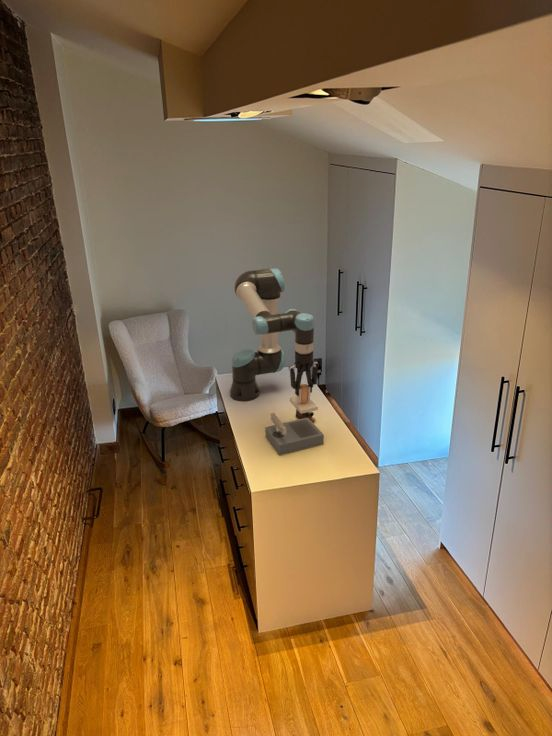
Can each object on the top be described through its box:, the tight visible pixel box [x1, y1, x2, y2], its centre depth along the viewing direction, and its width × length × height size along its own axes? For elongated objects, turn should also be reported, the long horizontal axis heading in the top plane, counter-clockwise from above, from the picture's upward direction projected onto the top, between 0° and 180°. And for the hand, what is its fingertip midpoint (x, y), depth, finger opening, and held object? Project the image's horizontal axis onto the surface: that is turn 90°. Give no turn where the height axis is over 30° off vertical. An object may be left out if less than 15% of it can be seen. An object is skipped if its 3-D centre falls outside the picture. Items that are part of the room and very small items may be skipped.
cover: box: [288, 383, 319, 414], centre depth 234 cm, size 12×8×10 cm, turn 23°
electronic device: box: [295, 408, 316, 423], centre depth 257 cm, size 4×10×8 cm, turn 43°
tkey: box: [270, 412, 286, 435], centre depth 235 cm, size 2×14×6 cm, turn 22°
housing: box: [264, 418, 325, 456], centre depth 241 cm, size 16×21×5 cm
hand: (303, 400), depth 235 cm, fingers closed on cover, 3 cm apart
